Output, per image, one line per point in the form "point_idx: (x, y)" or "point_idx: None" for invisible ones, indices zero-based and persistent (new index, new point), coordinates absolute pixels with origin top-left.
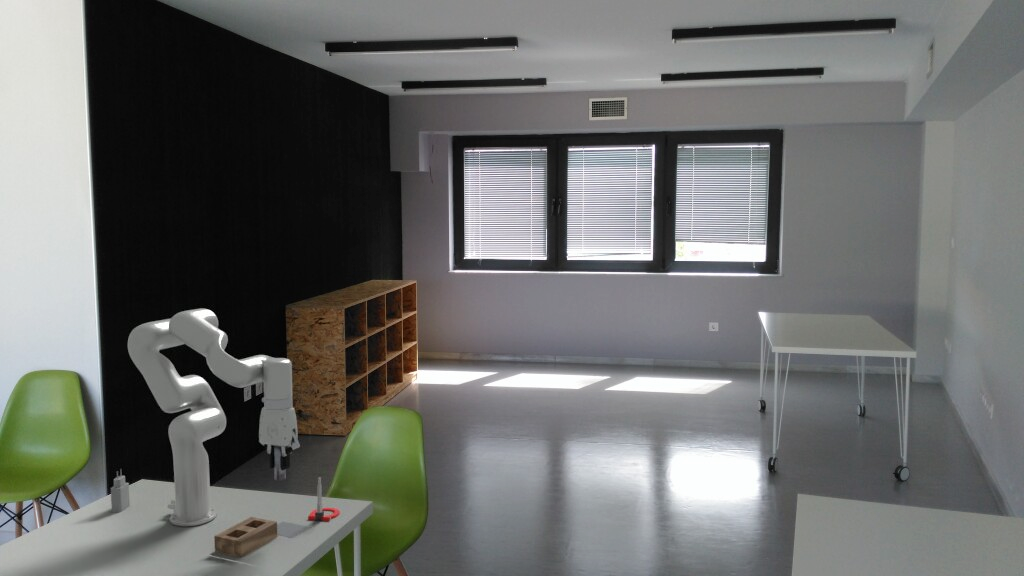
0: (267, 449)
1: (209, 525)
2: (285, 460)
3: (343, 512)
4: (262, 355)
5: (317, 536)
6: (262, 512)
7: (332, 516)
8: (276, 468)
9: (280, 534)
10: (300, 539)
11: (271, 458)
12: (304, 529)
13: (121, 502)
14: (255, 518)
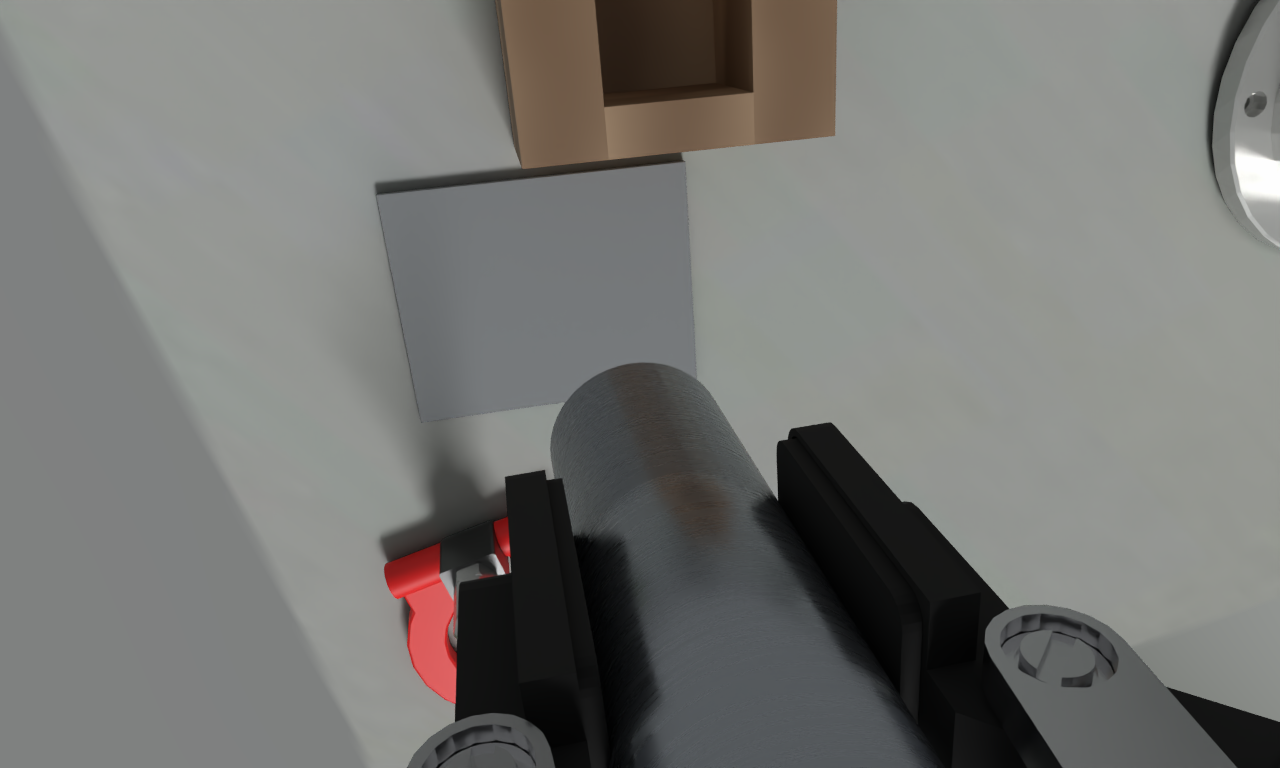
0: (1162, 692)
1: (1175, 47)
2: (478, 665)
3: (437, 712)
4: None
5: (241, 335)
6: (953, 425)
7: (409, 617)
8: (670, 457)
9: (524, 193)
10: (314, 219)
11: (875, 548)
12: (428, 363)
13: None
14: (770, 124)
